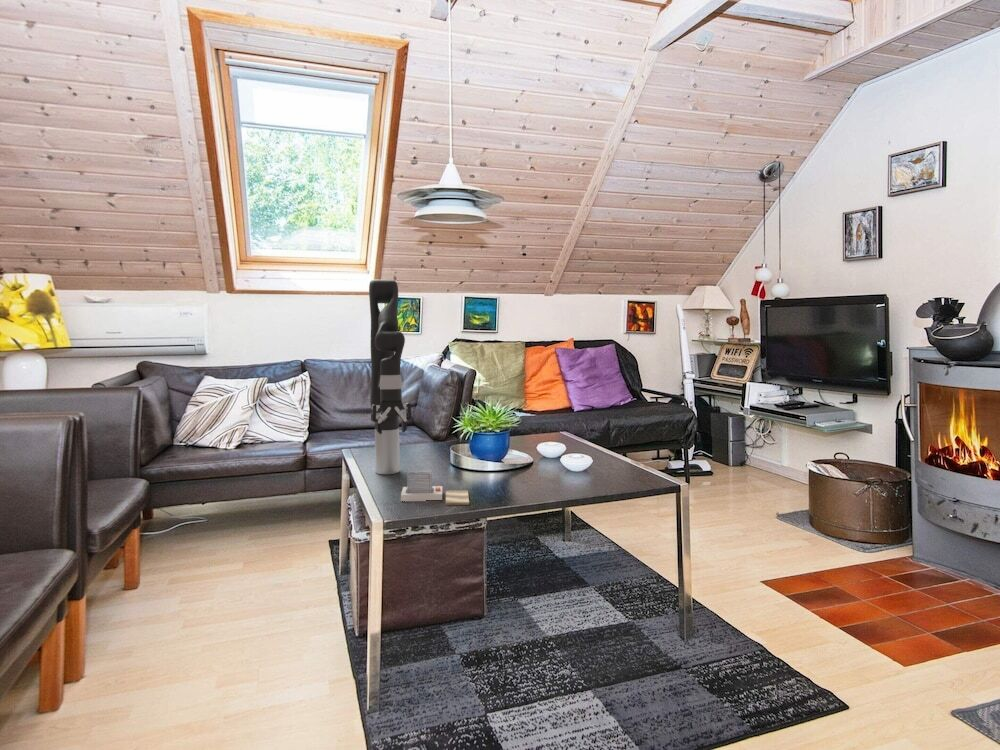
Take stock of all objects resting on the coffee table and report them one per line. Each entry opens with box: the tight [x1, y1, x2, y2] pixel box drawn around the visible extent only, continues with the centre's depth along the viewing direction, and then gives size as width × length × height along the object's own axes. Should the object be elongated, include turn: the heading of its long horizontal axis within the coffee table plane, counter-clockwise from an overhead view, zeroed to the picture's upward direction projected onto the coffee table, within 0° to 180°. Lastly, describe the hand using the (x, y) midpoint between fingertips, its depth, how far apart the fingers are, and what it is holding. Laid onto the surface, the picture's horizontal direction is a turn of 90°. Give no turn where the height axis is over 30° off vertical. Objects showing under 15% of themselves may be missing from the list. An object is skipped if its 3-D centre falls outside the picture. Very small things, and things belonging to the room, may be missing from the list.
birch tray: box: [445, 489, 470, 506], centre depth 216 cm, size 14×8×1 cm, turn 5°
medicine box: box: [406, 470, 433, 493], centre depth 218 cm, size 8×4×9 cm, turn 90°
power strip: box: [400, 483, 443, 502], centre depth 223 cm, size 18×14×3 cm
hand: (391, 432), depth 231 cm, fingers open, 8 cm apart
